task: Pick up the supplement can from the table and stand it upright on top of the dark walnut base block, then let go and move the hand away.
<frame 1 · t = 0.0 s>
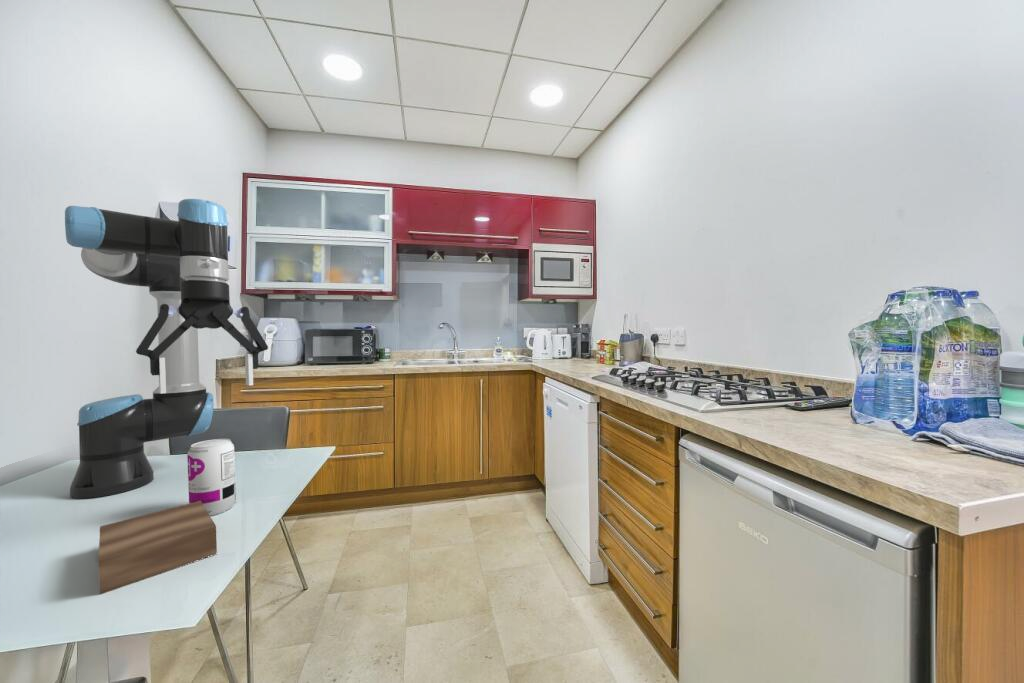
hand: (209, 388, 76), 28 cm above the table, tool pointing down, fingers open, 13 cm apart
walnut base: (158, 554, 68), on the table
supplement can: (213, 511, 85), on the table
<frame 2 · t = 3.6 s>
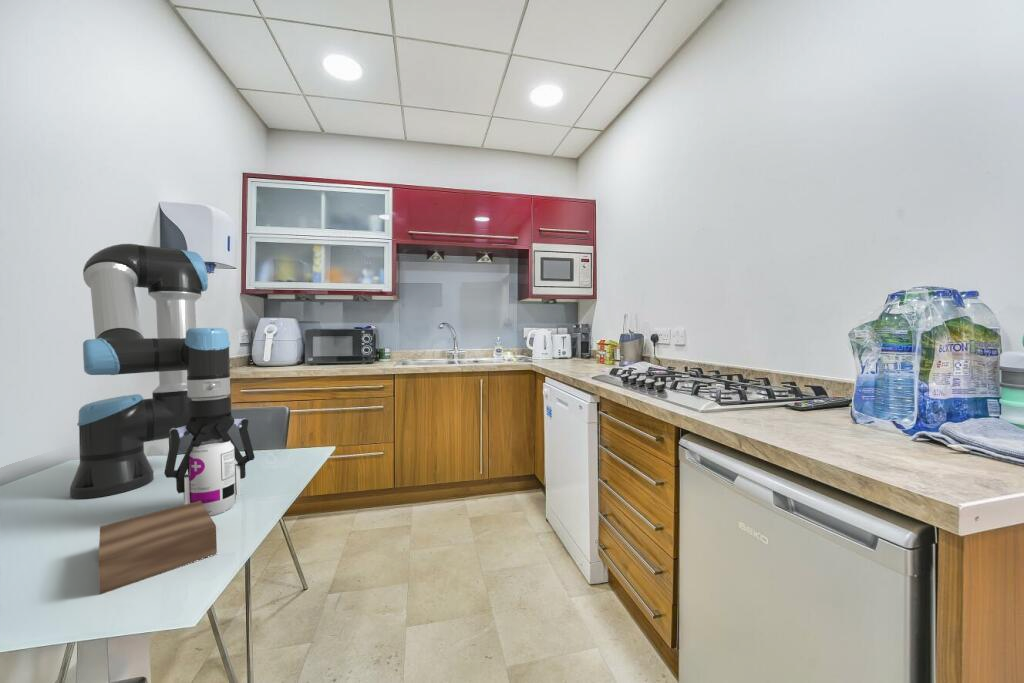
hand: (213, 499, 85), 2 cm above the table, tool pointing down, fingers closed on supplement can, 8 cm apart
supplement can: (213, 510, 85), on the table, touching gripper
when the fingers open (9 cm above the table, at t = 11.1 s): supplement can drops 1 cm, resting on walnut base.
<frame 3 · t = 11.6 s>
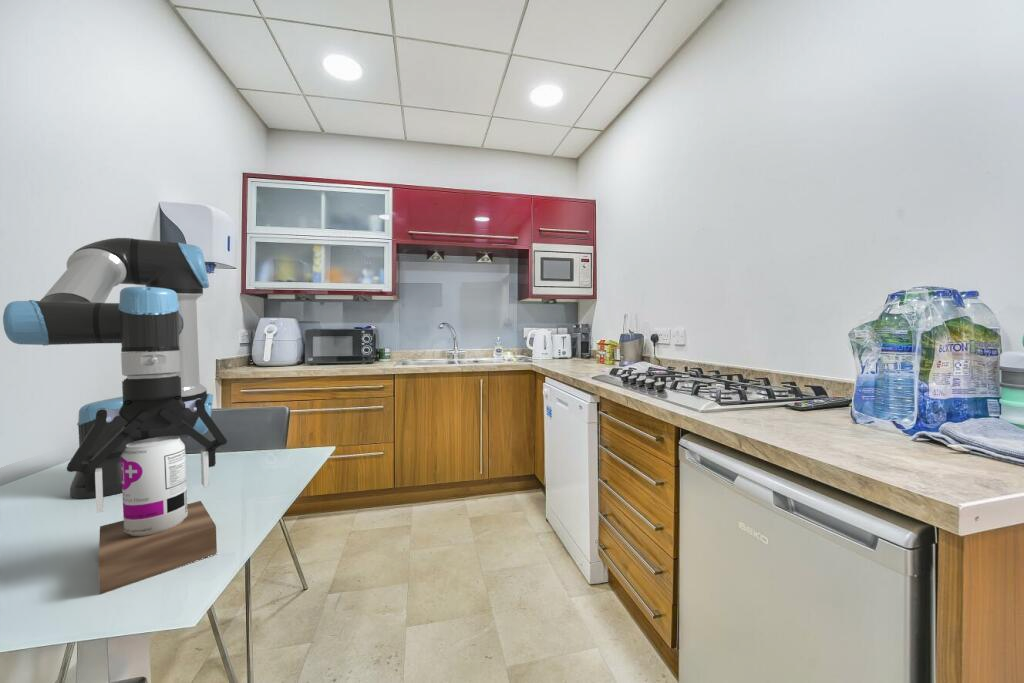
hand: (156, 496, 68), 10 cm above the table, tool pointing down, fingers open, 13 cm apart
supplement can: (157, 527, 68), point 5 cm above the table, touching walnut base
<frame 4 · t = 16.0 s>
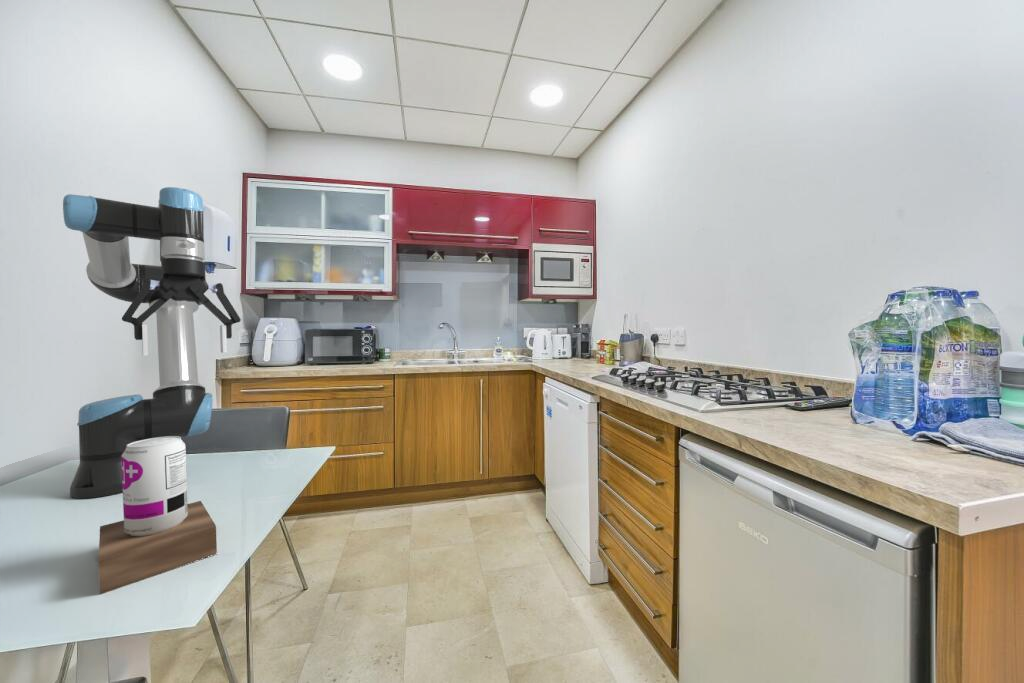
hand: (186, 354, 87), 35 cm above the table, tool pointing down, fingers open, 13 cm apart
nothing on the table moved.
at the end: supplement can inside the target area on the walnut base (0.0 cm from its centre), point 4.8 cm above the walnut base's base; supplement can tilted 0°; the gripper is holding nothing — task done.
